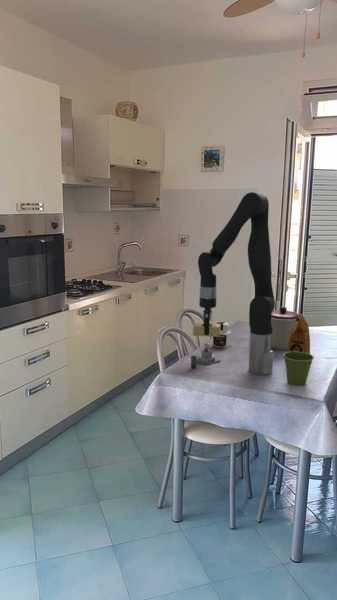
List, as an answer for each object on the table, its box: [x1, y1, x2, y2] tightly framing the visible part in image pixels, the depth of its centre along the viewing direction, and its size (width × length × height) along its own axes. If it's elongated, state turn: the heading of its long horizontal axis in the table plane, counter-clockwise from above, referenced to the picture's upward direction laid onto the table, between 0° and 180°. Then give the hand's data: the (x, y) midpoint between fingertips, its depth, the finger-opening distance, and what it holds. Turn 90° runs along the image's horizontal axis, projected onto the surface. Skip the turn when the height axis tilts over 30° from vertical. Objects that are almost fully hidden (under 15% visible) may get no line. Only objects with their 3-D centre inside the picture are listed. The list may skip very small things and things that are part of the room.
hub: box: [197, 342, 221, 366], centre depth 210 cm, size 9×9×8 cm
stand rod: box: [190, 354, 198, 370], centre depth 201 cm, size 2×2×5 cm
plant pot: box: [282, 351, 315, 386], centre depth 184 cm, size 12×12×11 cm
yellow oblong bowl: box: [192, 322, 221, 337], centre depth 208 cm, size 12×6×4 cm, turn 82°
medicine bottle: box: [212, 321, 232, 349], centre depth 235 cm, size 7×7×12 cm
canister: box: [271, 306, 300, 351], centre depth 231 cm, size 18×18×21 cm
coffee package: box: [287, 313, 311, 354], centre depth 206 cm, size 10×12×22 cm
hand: (206, 332), depth 209 cm, fingers closed on yellow oblong bowl, 6 cm apart
